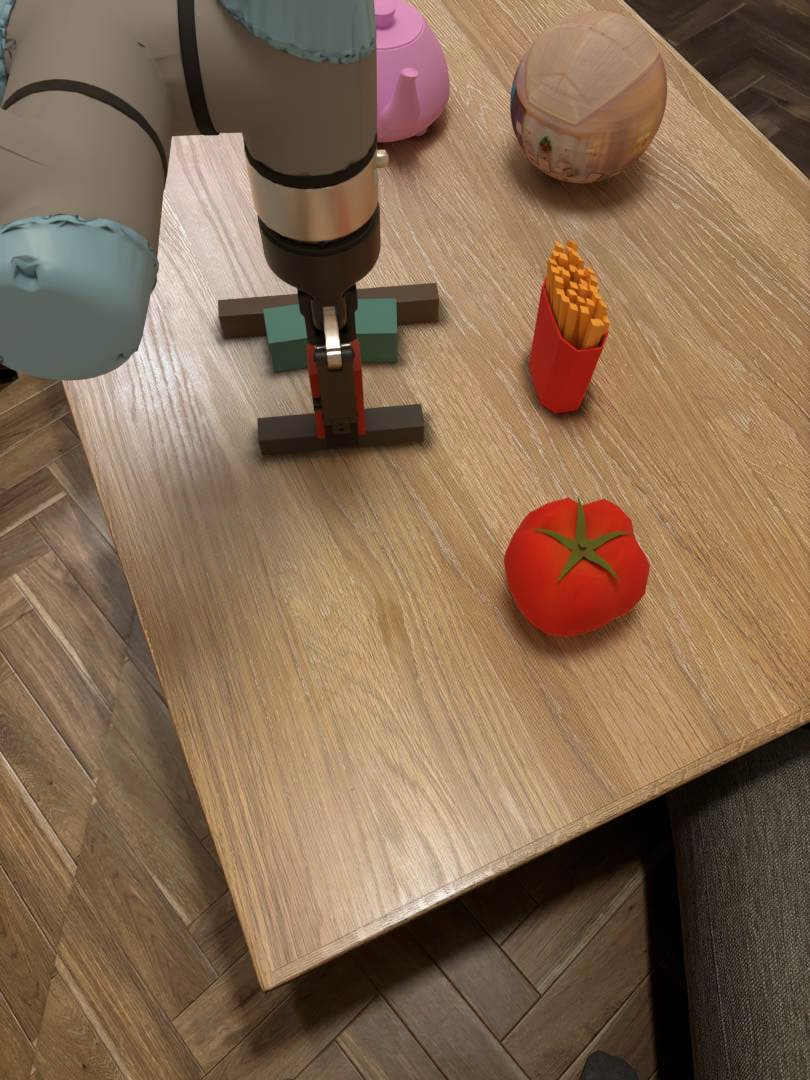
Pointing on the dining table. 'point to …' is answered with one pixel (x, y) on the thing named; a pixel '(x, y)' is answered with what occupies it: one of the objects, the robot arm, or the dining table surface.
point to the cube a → (286, 337)
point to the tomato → (575, 566)
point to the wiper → (309, 428)
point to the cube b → (377, 329)
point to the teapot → (407, 72)
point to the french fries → (567, 331)
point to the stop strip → (249, 318)
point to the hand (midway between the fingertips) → (340, 424)
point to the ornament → (588, 96)
